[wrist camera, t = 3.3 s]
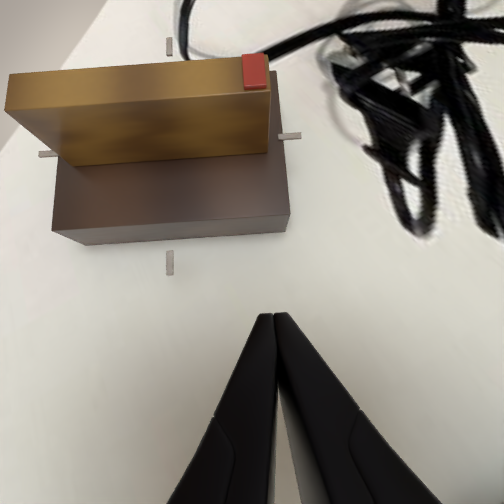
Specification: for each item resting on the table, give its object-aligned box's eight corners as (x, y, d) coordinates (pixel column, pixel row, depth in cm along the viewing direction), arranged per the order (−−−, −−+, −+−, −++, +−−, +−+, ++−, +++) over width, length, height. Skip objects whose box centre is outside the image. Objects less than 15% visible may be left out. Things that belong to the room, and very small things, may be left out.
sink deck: (66, 291, 20) (24, 284, 16) (81, 87, 24) (50, 46, 20) (306, 274, 20) (316, 265, 16) (284, 72, 24) (289, 28, 20)
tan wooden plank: (72, 166, 18) (-2, 107, 13) (74, 138, 19) (4, 69, 14) (268, 153, 18) (271, 87, 13) (265, 124, 18) (267, 49, 13)
